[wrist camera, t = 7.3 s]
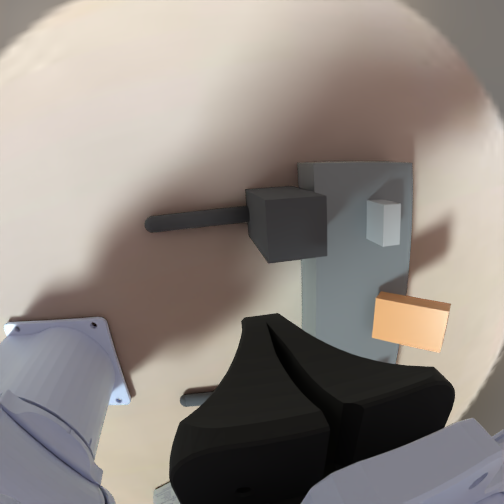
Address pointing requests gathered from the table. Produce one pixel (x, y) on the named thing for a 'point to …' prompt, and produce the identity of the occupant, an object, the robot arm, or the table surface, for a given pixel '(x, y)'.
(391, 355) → the power strip
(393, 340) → the orange rectangular block
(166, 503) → the medicine box
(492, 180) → the table surface
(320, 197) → the plug
